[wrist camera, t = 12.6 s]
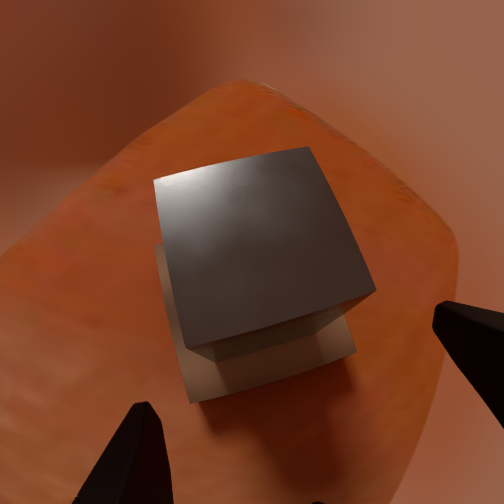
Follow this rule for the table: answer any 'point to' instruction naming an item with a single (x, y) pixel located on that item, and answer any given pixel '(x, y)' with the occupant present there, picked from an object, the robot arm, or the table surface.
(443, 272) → the table surface
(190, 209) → the tea tin
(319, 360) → the walnut block
